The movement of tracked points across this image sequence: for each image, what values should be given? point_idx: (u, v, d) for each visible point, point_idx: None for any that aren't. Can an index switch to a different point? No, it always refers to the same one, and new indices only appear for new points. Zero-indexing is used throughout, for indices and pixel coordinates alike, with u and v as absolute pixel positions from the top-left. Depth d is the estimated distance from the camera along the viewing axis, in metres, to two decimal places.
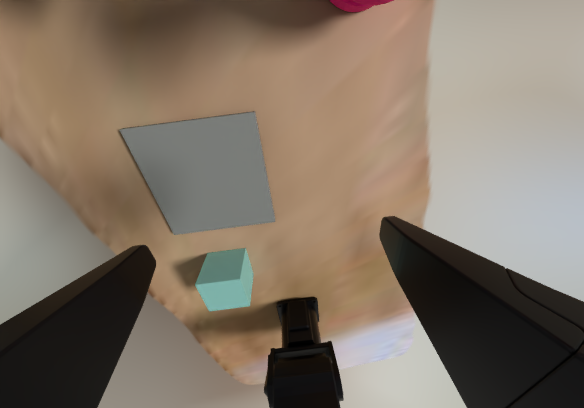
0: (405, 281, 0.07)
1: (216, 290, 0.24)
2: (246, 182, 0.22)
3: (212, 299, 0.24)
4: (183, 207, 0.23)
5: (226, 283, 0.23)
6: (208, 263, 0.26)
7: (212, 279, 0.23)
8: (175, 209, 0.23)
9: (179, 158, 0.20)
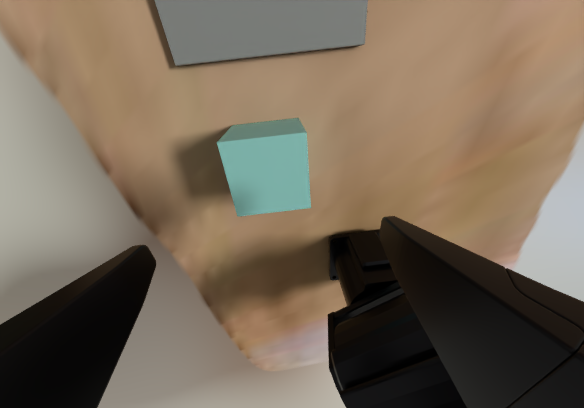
0: (405, 281, 0.07)
1: (256, 163, 0.12)
2: None
3: (247, 186, 0.13)
4: None
5: (278, 143, 0.12)
6: (237, 129, 0.14)
7: (250, 136, 0.12)
8: None
9: None
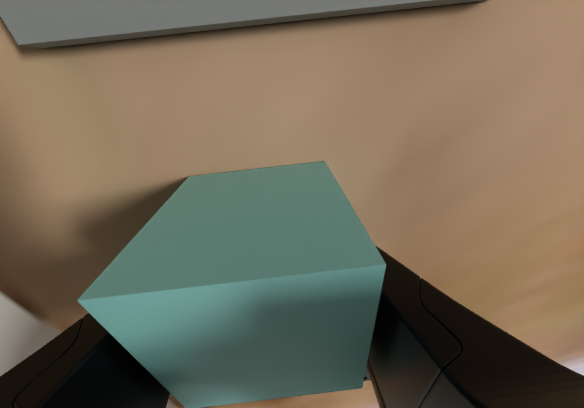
0: None
1: (220, 335, 0.04)
2: None
3: (201, 370, 0.05)
4: None
5: (289, 294, 0.04)
6: (186, 201, 0.06)
7: (198, 266, 0.04)
8: None
9: None
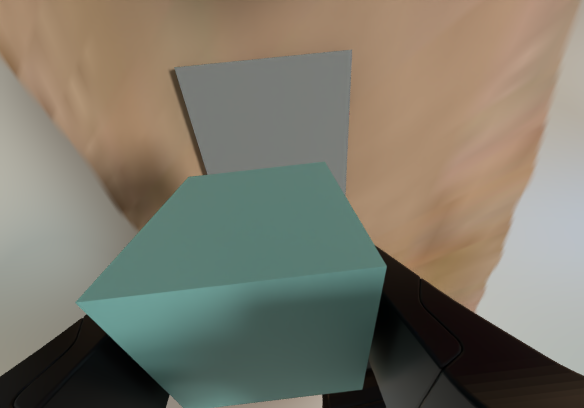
0: None
1: (220, 336, 0.04)
2: (321, 149, 0.17)
3: (201, 372, 0.05)
4: None
5: (289, 295, 0.04)
6: (186, 202, 0.06)
7: (197, 267, 0.04)
8: None
9: (244, 112, 0.16)
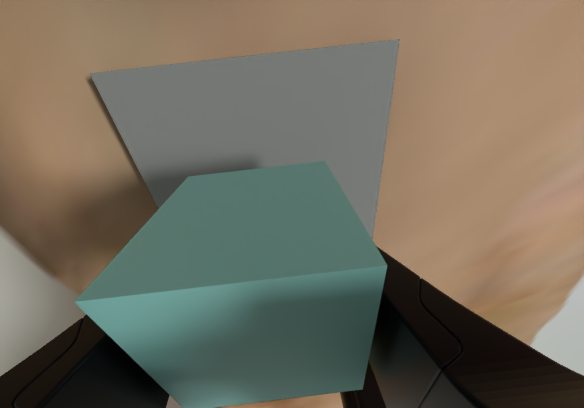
0: None
1: (219, 336, 0.04)
2: None
3: (200, 372, 0.05)
4: None
5: (288, 295, 0.04)
6: (185, 201, 0.06)
7: (197, 266, 0.04)
8: None
9: (218, 144, 0.10)
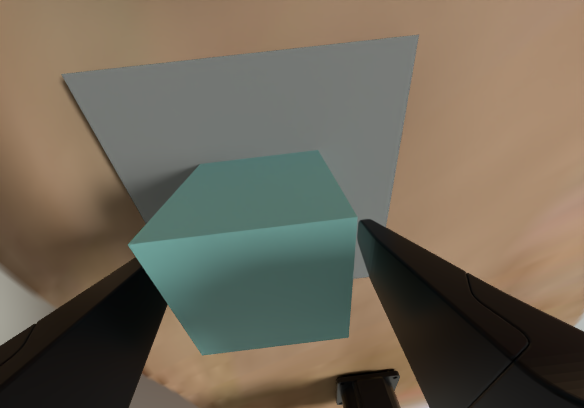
0: (378, 284, 0.07)
1: (232, 278, 0.05)
2: None
3: (216, 314, 0.06)
4: None
5: (285, 241, 0.05)
6: (201, 182, 0.07)
7: (215, 222, 0.05)
8: None
9: (211, 153, 0.09)
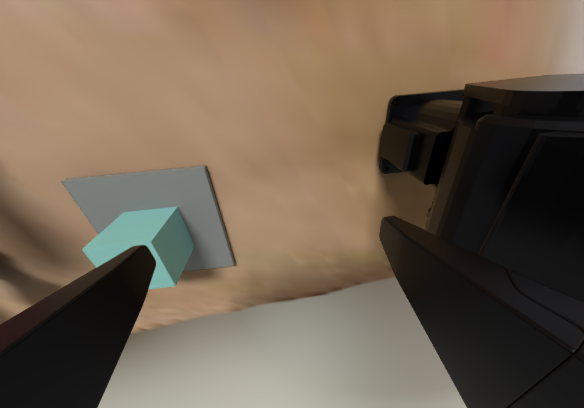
0: (405, 281, 0.07)
1: None
2: (150, 196, 0.19)
3: None
4: (197, 253, 0.23)
5: (100, 264, 0.16)
6: None
7: None
8: (201, 259, 0.23)
9: None
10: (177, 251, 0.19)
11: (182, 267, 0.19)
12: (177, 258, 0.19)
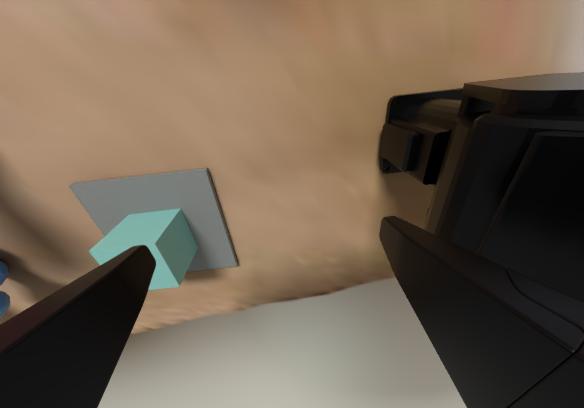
0: (405, 281, 0.07)
1: None
2: (154, 199, 0.19)
3: None
4: (200, 254, 0.23)
5: None
6: None
7: None
8: (204, 260, 0.24)
9: None
10: (180, 252, 0.19)
11: (186, 268, 0.20)
12: (181, 259, 0.19)
